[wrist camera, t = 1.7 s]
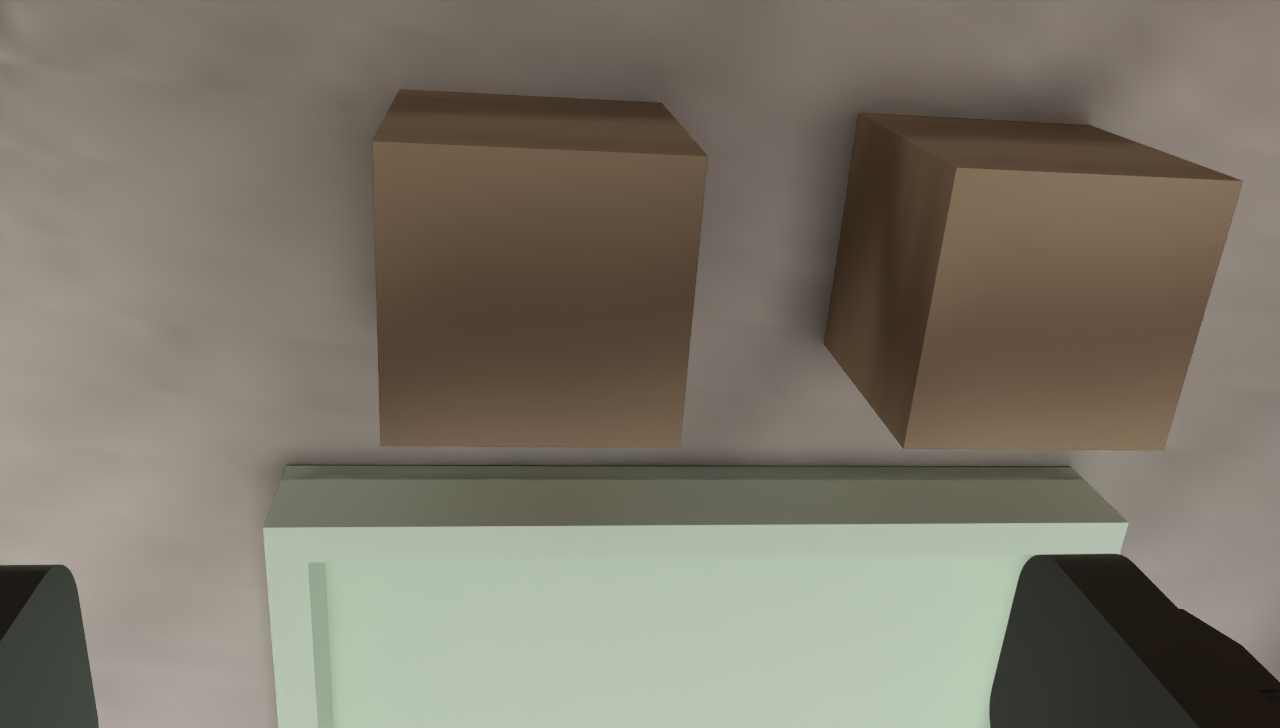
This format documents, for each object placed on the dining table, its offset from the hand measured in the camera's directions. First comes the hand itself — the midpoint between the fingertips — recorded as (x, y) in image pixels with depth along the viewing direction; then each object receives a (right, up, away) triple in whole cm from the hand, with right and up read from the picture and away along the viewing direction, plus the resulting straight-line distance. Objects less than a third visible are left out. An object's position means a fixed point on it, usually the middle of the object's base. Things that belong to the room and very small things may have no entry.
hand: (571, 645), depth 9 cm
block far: (+7, +5, +14) cm, 16 cm away
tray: (+2, -5, +17) cm, 18 cm away
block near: (-2, +5, +12) cm, 14 cm away
